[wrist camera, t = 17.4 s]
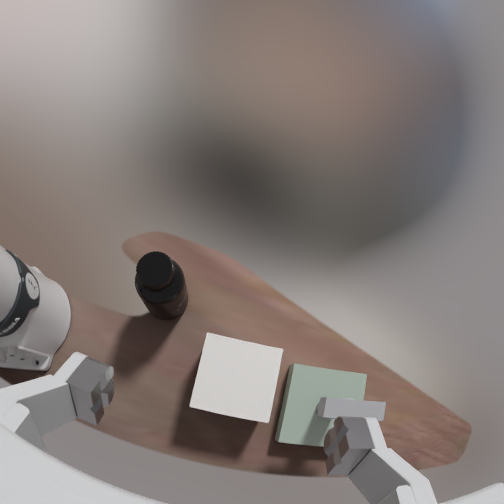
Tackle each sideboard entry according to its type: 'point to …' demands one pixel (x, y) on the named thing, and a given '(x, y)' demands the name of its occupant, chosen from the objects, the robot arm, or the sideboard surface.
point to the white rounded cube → (236, 378)
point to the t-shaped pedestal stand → (321, 403)
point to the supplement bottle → (161, 285)
